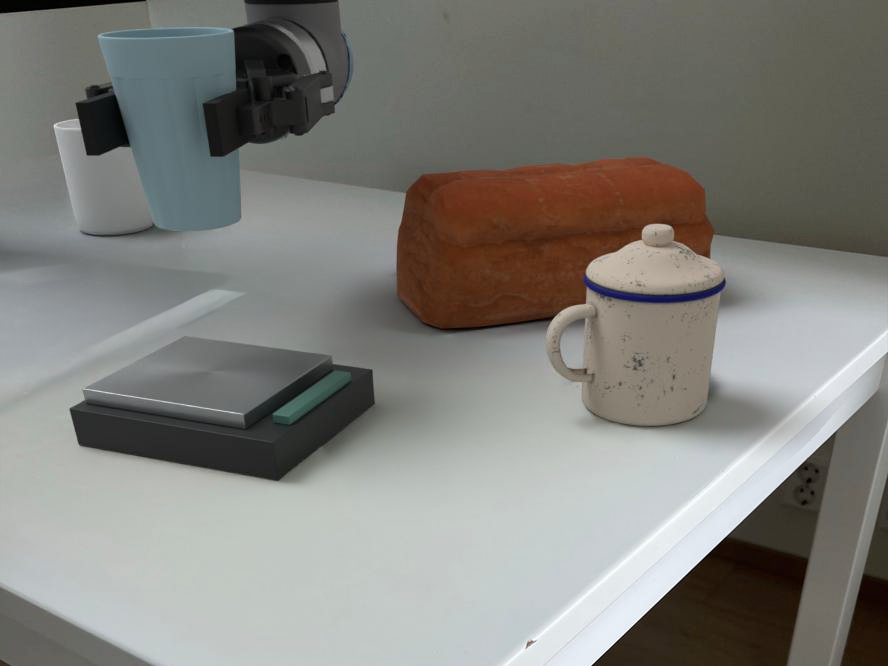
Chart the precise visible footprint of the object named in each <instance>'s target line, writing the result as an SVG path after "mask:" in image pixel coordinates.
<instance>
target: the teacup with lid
mask: <svg viewBox="0 0 888 666" xmlns="http://www.w3.org/2000/svg"><path fill="white" fill-rule="evenodd" d="M673 239H674V230H673V228H672V227H671V226H669V225H665V224H651V225H647V226H646V227H645V228H644V229H643V231H642V240H640V241H636V242H632V243H630V244H628V245H626V246H624V247H623V248H622V249H620V250H619V251H617V252H614V253H610V254H606V255H603V256H601V257H598V258H596V259H595V260H593V261H592V262H591V263H590V264H589V266H588V267H587V269H586V273H585V274H584V283H585V285H586V286H587V294H586V304H582V305H575V306H571V307H568V308H566V309H564V310H563V311H561V312H560V313H559V314H558V315H557V316H555V317H553V319H552V320H551V322H550V323H549V325H548V327H547V330H546V336H545V350H546V354H547V358H548V360H549V363H550V364H551V366H552V368H553V369H554V370H555V371H556V373H557V374H558V375H560V376H561V377H562V378H563V379H566V380H567V381H570V382H574V383H581V401H582V403H583V405H584V406H585V408H586V409H587V410H588V411H590V412H591V413H593V414H594V415H596V416H597V417H600V418H601V419H605V420H607V421H610V422H614V423H619V424H624V425H631V426H642V427H643V426H644V427H645V426H646V427H656V426H667V425H674V424H679V423H683V422H687V421H689V420H691V419H693V418H695V417H697V416H698V415H700V414H701V413H702V412H703V411H704V409H705V408H706V406H707V403H708V397H709V388H710V382H711V381H710V380H711V374H712V365H713V357H714V349H715V341H716V333H717V327H718V326H717V325H718V317H719V310H720V302H721V301H720V300H721V295H722V294H721V292H722V291H723V290H724V289H725V287H726V283H727V281H726V277H725V271H724V270H723V268H722V266H721V264H719V263H718V262H716V261H715V260H713V259H712V258H710V259H709V258H706V257H704V256H700V255H697V254H696V253H694V252H693V251H692V250H691V249H690V248H688V247H687V246H685V245H683V244H681V243H678V242H675V241H673ZM583 319H584V336H583V354H582V355H583V357H582V358H583V359H582V368H572V367H568V366H567V365H566V363H565V361H564V359H563V356H562V351H561V340H562V336H563V333H564V332H565V330H566V329H567V328H568V327H569V326H570V325H571V324H572V323H574V322H575V321H578V320H583Z"/></svg>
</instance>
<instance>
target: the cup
mask: <svg viewBox="0 0 888 666" xmlns="http://www.w3.org/2000/svg"><path fill="white" fill-rule="evenodd" d="M231 29H232V28H225V27H210V26H209V27H208V26H207V27H205V26H202V27H199V26H198V27H197V26H190V27H189V26H187V27H185V26H183V27H181V26H179V27H177V26H176V27H155V28H154V27H153V28H138V29H136V28H135V29H125V30H116V31H115V30H113V31H107V32H102V33H98V34H97V39H98V43H99V48H100V51H101V53H102V56H103V59H104V63H105V66H106V70H107V73H108V76H109V78H110V82H112V85H113V89H114V92H115V95H116V99H117V102H118V105H119V109H120V112H121V116H122V119H123V122H124V126H125V129H126V132H127V136H128V139H129V142H130V146H131V149H132V152H133V156H134V159H135V162H136V166H137V169H138V172H139V176H140V179H141V183H142V186H143V189H144V193H145V196H146V199H147V203H148V206H149V209H150V212H151V216H152V219H153V222H154V223H153V224H154V226H155V227H156V228H159V229H162V230H164V231H172V232H201V231H210V230H217V229H221V228H226V227H229V226H232V225H234V224H237V223H238V222H240V221H241V219H242V193H241V191H242V189H241V167H240V166H241V165H240V148H238V149H236V150H234V151H233V152H231V153H229V154H227V155H226V156H224V157H210V150H209V144H208V137H207V130H206V124H205V117H204V110H203V104H202V103H204V102H207V101H209V100H212V99H214V98H217V97H219V96H221V95H224V94H228V93H231V92H233V91H236V73H235V70H236V68H235V43H234V31H233V30H231Z"/></svg>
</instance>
